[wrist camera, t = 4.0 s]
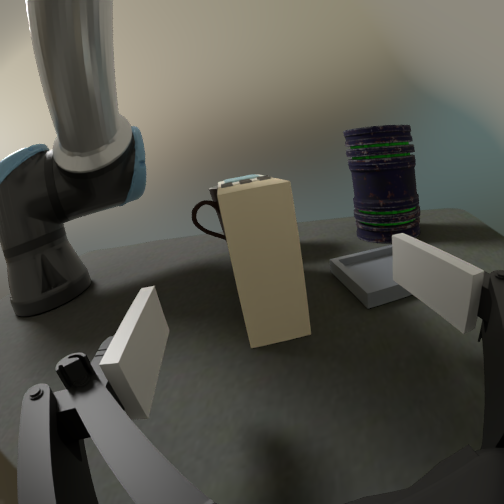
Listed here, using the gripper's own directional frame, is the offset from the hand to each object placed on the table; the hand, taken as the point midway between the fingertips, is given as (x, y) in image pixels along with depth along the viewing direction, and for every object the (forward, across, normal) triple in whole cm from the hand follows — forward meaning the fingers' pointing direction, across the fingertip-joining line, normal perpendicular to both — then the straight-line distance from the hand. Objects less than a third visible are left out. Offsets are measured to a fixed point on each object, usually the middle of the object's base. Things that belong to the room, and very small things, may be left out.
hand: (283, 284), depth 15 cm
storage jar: (+23, +20, -6) cm, 31 cm away
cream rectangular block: (+7, 0, -6) cm, 9 cm away
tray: (+10, +12, -6) cm, 17 cm away
